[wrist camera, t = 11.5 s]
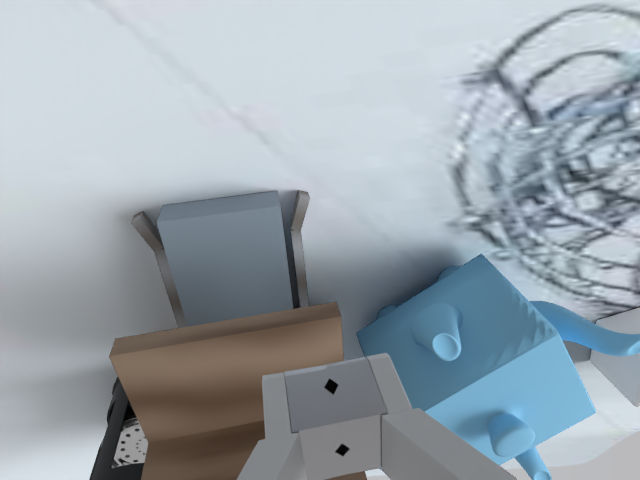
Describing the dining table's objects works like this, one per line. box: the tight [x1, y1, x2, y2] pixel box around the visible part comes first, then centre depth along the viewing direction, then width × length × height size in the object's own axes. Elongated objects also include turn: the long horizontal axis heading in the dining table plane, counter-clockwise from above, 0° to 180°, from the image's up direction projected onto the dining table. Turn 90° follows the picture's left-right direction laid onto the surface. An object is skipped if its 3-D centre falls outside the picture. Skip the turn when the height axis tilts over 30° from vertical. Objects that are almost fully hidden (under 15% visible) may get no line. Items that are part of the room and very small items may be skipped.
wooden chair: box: [109, 190, 367, 480], centre depth 29 cm, size 14×14×18 cm
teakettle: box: [356, 254, 640, 480], centre depth 37 cm, size 19×19×15 cm
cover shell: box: [156, 191, 293, 327], centre depth 35 cm, size 12×9×3 cm
